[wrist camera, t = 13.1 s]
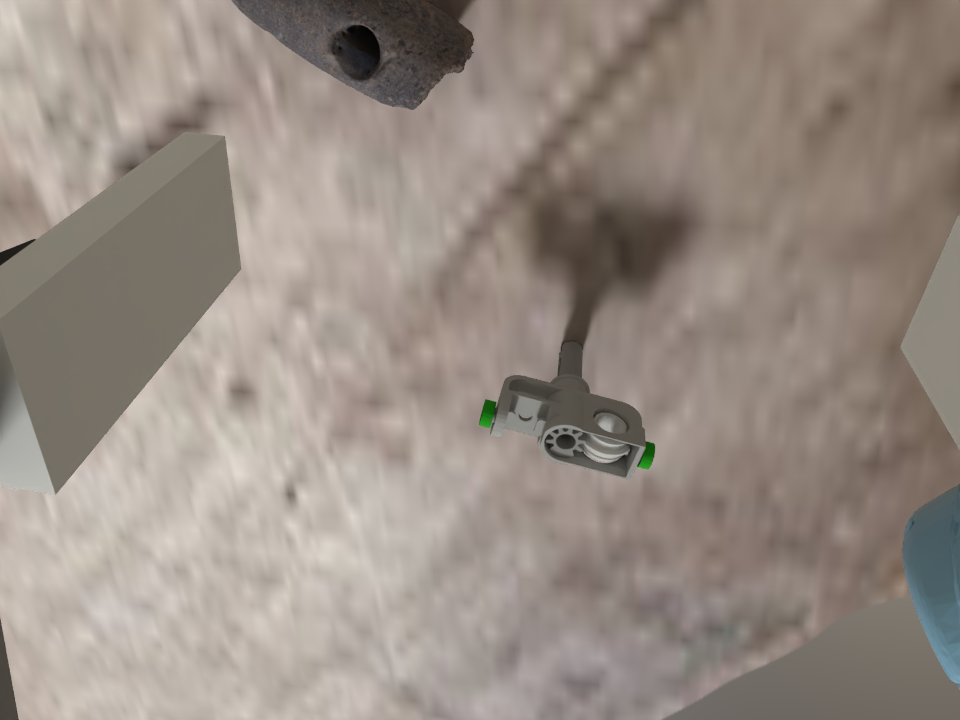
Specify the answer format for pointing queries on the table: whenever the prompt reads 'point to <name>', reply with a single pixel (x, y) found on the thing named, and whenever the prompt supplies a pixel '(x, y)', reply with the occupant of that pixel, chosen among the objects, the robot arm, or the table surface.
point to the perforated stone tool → (370, 42)
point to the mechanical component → (572, 420)
